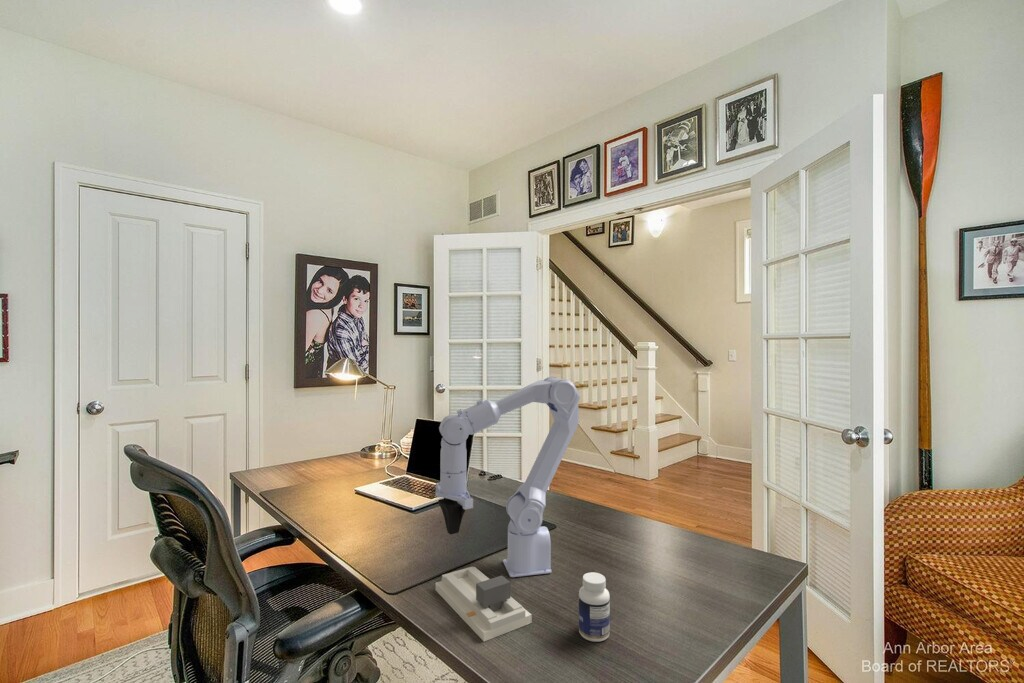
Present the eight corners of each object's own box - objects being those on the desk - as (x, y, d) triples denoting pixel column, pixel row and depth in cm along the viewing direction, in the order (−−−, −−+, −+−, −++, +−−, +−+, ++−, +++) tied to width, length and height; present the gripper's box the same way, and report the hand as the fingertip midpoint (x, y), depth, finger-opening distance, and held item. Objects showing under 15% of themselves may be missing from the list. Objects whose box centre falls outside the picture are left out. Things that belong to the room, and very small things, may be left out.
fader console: (435, 590, 96) (435, 575, 96) (478, 577, 102) (478, 563, 102) (483, 641, 80) (483, 623, 80) (531, 622, 85) (531, 606, 85)
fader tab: (476, 608, 86) (476, 583, 87) (501, 599, 90) (501, 575, 90) (484, 616, 84) (484, 590, 84) (510, 606, 87) (510, 582, 87)
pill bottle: (575, 624, 85) (575, 570, 85) (604, 623, 85) (604, 569, 85) (582, 643, 79) (582, 585, 79) (613, 642, 80) (613, 584, 80)
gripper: (423, 465, 107) (423, 525, 106) (451, 481, 94) (451, 548, 94) (451, 461, 110) (451, 519, 110) (482, 476, 98) (481, 541, 98)
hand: (453, 532), depth 103 cm, fingers closed
